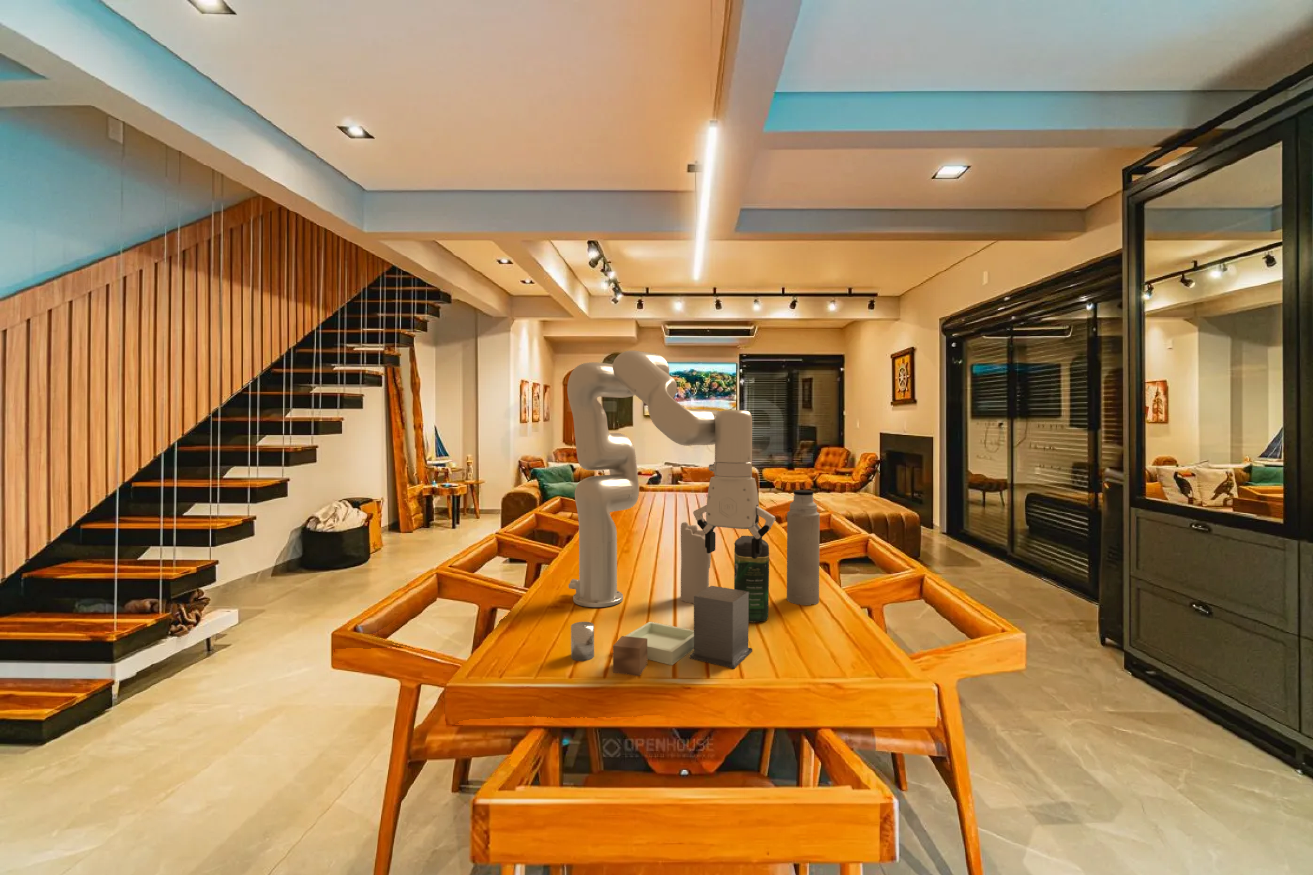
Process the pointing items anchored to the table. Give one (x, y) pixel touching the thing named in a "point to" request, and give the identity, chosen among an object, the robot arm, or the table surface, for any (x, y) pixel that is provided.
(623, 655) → the walnut block
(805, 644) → the table surface
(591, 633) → the grey cylinder
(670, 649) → the tray
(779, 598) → the table surface
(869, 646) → the table surface
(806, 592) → the thermos bottle
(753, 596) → the coffee jar
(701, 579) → the grey jagged upright block
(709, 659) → the block
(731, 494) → the robot arm
